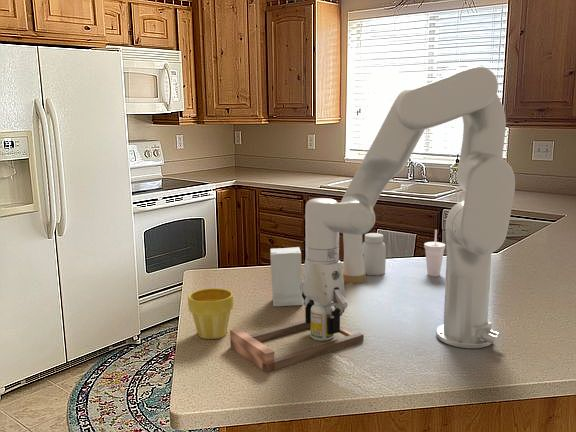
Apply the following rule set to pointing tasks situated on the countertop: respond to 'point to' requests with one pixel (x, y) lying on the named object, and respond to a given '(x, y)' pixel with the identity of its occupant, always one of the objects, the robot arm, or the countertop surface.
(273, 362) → the frame
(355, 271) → the toiletry set
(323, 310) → the supplement bottle
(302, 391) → the countertop surface
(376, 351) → the countertop surface
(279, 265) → the skincare box
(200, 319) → the plant pot
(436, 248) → the smoothie
